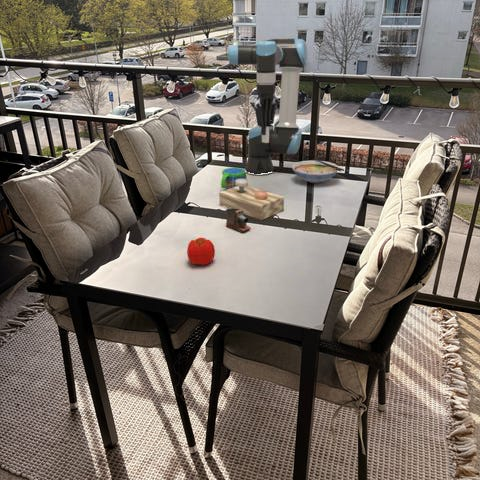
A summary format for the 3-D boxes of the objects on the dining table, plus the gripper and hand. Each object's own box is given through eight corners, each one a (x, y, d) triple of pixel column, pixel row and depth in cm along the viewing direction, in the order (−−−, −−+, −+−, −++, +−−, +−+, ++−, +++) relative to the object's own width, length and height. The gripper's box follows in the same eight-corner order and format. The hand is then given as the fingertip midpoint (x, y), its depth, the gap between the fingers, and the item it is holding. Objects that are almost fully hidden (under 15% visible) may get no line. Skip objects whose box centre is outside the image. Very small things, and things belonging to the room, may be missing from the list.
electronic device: (243, 234, 172) (242, 215, 169) (225, 227, 178) (224, 208, 175) (251, 230, 175) (251, 212, 171) (233, 223, 181) (233, 205, 178)
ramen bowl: (281, 177, 234) (282, 161, 230) (319, 171, 242) (320, 156, 239) (308, 192, 213) (309, 175, 210) (348, 185, 222) (350, 168, 218)
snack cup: (238, 185, 223) (238, 164, 219) (254, 190, 216) (254, 169, 212) (214, 193, 213) (213, 171, 209) (229, 198, 206) (229, 176, 202)
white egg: (241, 192, 200) (241, 177, 198) (250, 194, 197) (250, 180, 194) (233, 195, 197) (232, 180, 194) (241, 197, 194) (241, 183, 191)
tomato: (200, 253, 158) (199, 233, 154) (220, 260, 153) (219, 240, 149) (181, 263, 151) (179, 242, 148) (200, 271, 146) (199, 250, 143)
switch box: (242, 197, 208) (242, 184, 205) (283, 210, 192) (284, 197, 190) (219, 205, 199) (219, 192, 196) (261, 220, 183) (261, 206, 181)
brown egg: (260, 204, 195) (260, 189, 192) (269, 207, 191) (269, 192, 189) (251, 207, 191) (252, 192, 188) (261, 210, 188) (261, 195, 185)
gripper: (269, 81, 190) (268, 137, 200) (247, 84, 182) (248, 143, 192) (283, 82, 185) (282, 140, 196) (262, 86, 177) (261, 146, 187)
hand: (265, 142), depth 194 cm, fingers closed
